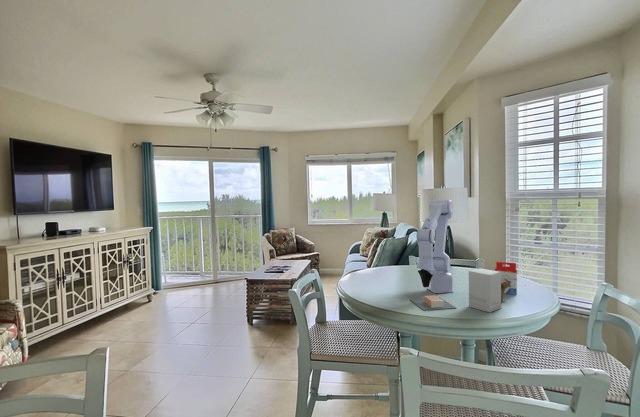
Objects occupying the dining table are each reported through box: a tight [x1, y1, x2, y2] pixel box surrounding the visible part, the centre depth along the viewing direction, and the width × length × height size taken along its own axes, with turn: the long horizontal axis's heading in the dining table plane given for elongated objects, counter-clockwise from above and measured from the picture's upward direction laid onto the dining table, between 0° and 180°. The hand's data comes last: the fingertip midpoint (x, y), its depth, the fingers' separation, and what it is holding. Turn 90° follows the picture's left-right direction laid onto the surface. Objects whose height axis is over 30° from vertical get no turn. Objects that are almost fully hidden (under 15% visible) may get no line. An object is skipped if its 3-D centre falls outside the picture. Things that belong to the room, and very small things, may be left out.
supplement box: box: [468, 267, 502, 313], centre depth 129 cm, size 9×9×15 cm
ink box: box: [494, 261, 518, 296], centre depth 148 cm, size 8×5×15 cm, turn 65°
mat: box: [409, 296, 457, 311], centre depth 134 cm, size 14×14×1 cm
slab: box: [423, 295, 444, 308], centre depth 132 cm, size 5×3×7 cm
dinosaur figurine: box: [501, 279, 511, 303], centre depth 137 cm, size 14×6×9 cm, turn 122°
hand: (425, 286), depth 139 cm, fingers closed
